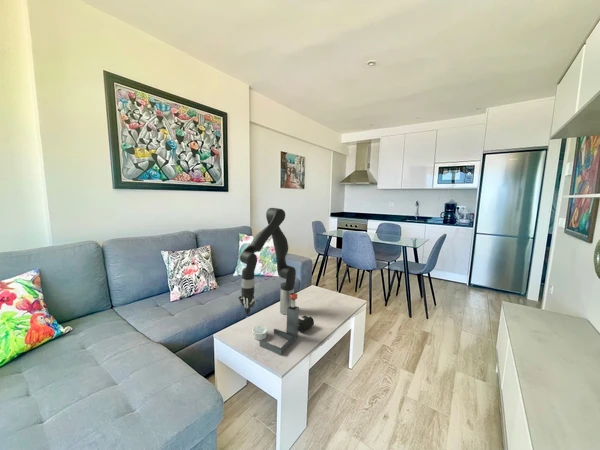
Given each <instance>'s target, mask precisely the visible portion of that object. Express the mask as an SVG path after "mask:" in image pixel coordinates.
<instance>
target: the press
mask: <svg viewBox="0 0 600 450" xmlns="http://www.w3.org/2000/svg"><path fill="white" fill-rule="evenodd" d="M299 316H300V307H299V306H296V305H295V309H294V310H293V309H291V306H290V307H288V308H287V315H286V330H285V331H286V332H285V331H282V330H280V329H278V328H274V329H273V335H275V336H277V337H280V338H282V339H285V340H287V341H286V342H284V344H283V345H282V346H281V347H280V346H279V347H278V346H277V345H274V344H272V343H270V342H268V341H265V340H264V339H263V340H259V347H260V348H263V349H266V350H267V351H270V352H272V353H274V354H277V355H279V356H282V355H283V354H284V353H285V352H286V351H287V350H288V349H289V348H290V347H291V346H292V345H293V344H294V343H295V342H296V339H297V338H298V336H299V331H298V322H299V319H300V318H299Z"/></svg>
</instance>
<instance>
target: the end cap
mask: <svg viewBox="0 0 600 450" xmlns="http://www.w3.org/2000/svg"><path fill="white" fill-rule="evenodd" d="M301 318H302V319H301ZM301 318H299V322H298V333H299V332H300V333H302V332H304V331H306V330H308V329H309V328H311V327H312V326H314V324H315V320H314V318H313V317H312V316H309V317H308V316H307V315H303V316H301Z"/></svg>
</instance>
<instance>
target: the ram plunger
mask: <svg viewBox="0 0 600 450" xmlns="http://www.w3.org/2000/svg"><path fill="white" fill-rule="evenodd" d="M290 299H291V309H293V310H294V309H295V306H296V300H297V299H298V293H296V292H294V293H291V294H290Z"/></svg>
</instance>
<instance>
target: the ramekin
mask: <svg viewBox="0 0 600 450" xmlns="http://www.w3.org/2000/svg"><path fill="white" fill-rule="evenodd" d="M268 330H269V328H268V327H267V326H265V325H256V326H254V327H253V328H252V329H251V331H252V337H253V339H254V340H257V341H260V340H263V341H264V340H265V339H266V338H267V336H268Z"/></svg>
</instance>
